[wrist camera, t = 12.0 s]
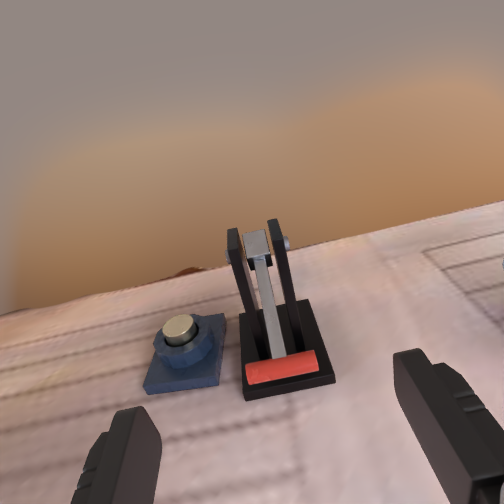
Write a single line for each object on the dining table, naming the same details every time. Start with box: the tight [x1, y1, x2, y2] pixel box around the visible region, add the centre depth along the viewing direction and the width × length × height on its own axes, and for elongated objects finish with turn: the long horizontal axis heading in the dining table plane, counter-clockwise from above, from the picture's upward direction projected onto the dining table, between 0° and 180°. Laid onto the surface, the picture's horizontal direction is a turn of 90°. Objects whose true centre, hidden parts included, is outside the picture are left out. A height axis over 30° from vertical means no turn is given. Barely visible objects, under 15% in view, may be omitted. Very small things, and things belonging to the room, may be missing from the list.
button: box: [162, 314, 198, 347], centre depth 39 cm, size 4×4×2 cm
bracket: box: [225, 219, 336, 401], centre depth 35 cm, size 12×9×15 cm
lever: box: [242, 229, 319, 385], centre depth 29 cm, size 13×5×2 cm, turn 4°
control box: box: [143, 313, 227, 395], centre depth 40 cm, size 10×8×4 cm
